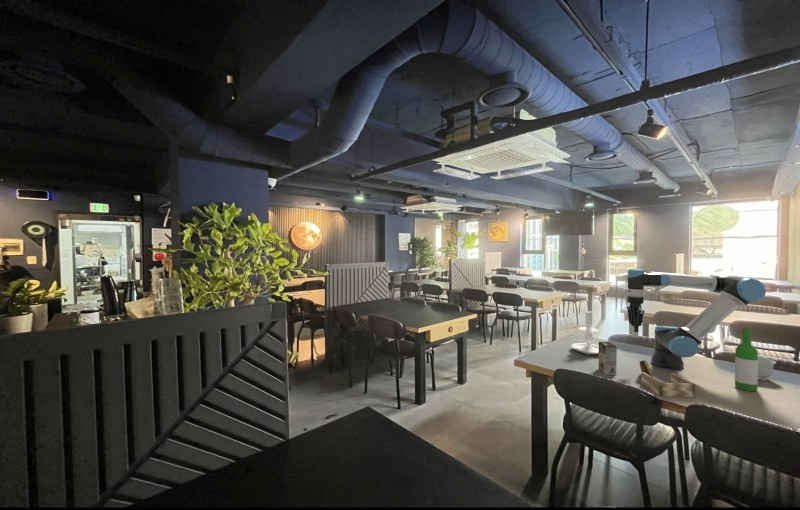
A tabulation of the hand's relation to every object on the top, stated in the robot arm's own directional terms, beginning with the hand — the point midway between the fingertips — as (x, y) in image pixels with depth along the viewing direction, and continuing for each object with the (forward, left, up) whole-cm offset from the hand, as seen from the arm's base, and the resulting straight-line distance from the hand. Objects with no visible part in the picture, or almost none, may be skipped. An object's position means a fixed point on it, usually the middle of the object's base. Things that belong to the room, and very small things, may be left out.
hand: (635, 336), depth 188 cm
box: (0, +26, -19) cm, 32 cm away
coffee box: (+17, +4, -19) cm, 26 cm away
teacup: (-58, +7, -19) cm, 62 cm away
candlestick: (+13, -28, -19) cm, 36 cm away
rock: (0, +11, -19) cm, 22 cm away
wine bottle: (-39, +22, -19) cm, 49 cm away
